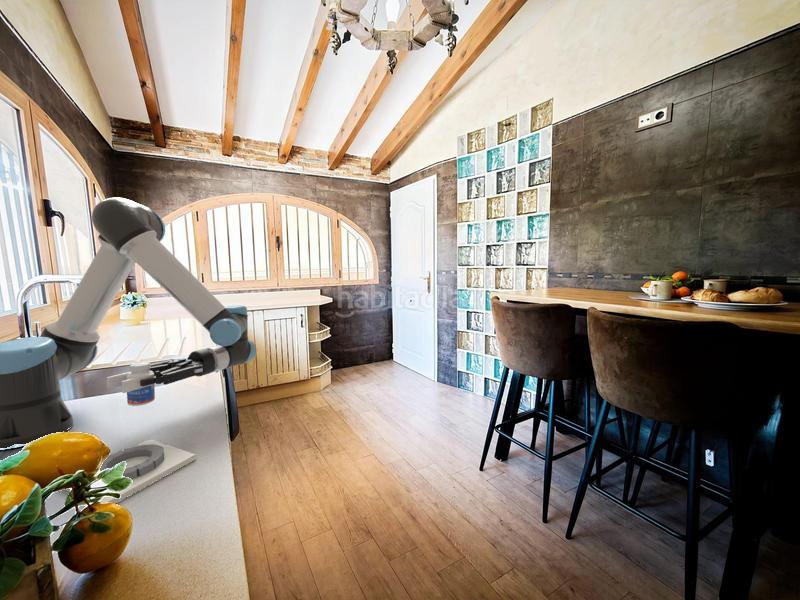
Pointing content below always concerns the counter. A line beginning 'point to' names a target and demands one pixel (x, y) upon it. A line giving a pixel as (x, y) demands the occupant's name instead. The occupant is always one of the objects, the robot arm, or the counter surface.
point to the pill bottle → (142, 394)
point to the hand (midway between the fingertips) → (115, 385)
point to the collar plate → (156, 474)
